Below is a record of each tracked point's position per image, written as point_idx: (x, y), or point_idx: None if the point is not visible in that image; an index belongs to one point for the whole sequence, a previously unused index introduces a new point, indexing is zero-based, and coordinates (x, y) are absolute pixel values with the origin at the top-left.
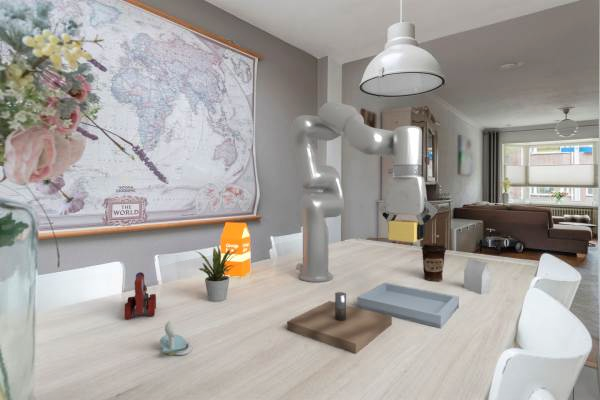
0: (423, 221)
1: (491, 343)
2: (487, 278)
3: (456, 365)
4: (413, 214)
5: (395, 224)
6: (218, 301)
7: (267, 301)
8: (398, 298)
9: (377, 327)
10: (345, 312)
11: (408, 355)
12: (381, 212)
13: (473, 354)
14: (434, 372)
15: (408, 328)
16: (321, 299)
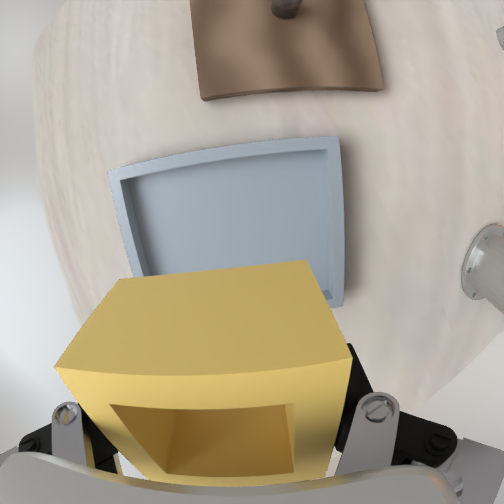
0: (55, 421)
1: (49, 181)
2: None
3: (60, 66)
4: (58, 458)
5: (256, 350)
6: (496, 31)
7: (469, 63)
8: (273, 255)
9: (192, 27)
10: (272, 2)
11: (119, 27)
12: (469, 445)
13: (52, 117)
14: (78, 26)
15: (166, 113)
16: (420, 134)
